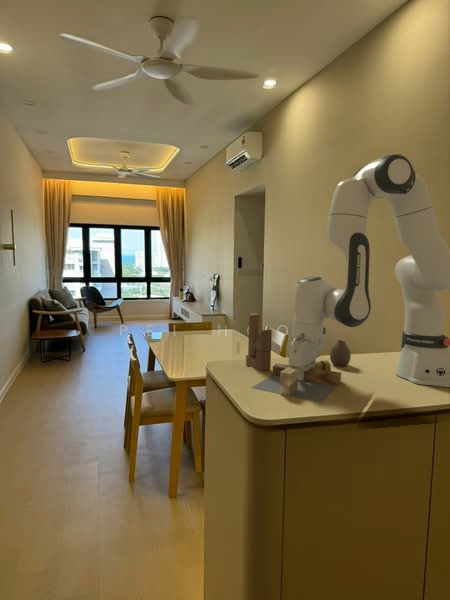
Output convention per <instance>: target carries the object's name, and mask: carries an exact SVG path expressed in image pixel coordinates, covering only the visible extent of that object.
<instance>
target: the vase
mask: <svg viewBox="0 0 450 600" xmlns="http://www.w3.org/2000/svg"><path fill="white" fill-rule="evenodd" d="M351 355H352V354H351V350H350V348H349V346H348V345H347V344H346V342H345V340H343V339H342V340H340V339H339V340H338V339H337V341H336V343H334V344H333V346H332V347H331V349H330V353H329V359H330V361H331V363H332V365H333V366H335V367H336V368H337V367H338V368H344V367H346V366H348V365H349V363H350V361H351Z"/></svg>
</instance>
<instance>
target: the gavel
mask: <svg viewBox="0 0 450 600" xmlns="http://www.w3.org/2000/svg"><path fill="white" fill-rule="evenodd" d="M305 367H306V368H307V367H308V365H306V366H305ZM314 369H320V370H327V371H331V369H332V368H331V363H330V362H329V361H328V360H326V359H325V360H320V361H316V362H315V366H314Z"/></svg>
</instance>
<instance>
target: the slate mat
mask: <svg viewBox="0 0 450 600" xmlns="http://www.w3.org/2000/svg"><path fill="white" fill-rule="evenodd" d="M336 388H337V387H336V386H333V385H327V384H322V383H317V382H310V381H304V380H302V381H301V380H298V389H297V390H296V391H295V392H294V393H292V394H291V395H290V396H289V397H291V398H292V397H293V398H296V399H302V400H307V401H311V402H315V403H320V404H321V403H322V402H324V401H325V399H327V398H328V396H329V395H331V393H333V392H334V390H336ZM251 389H255V390H259V391H263V392H267V393H268V392H269V393H273V394H278V395H283V394H280V377H279V376H273V375H272V374H271V375H270V376H268V377H267V378H264V379H263V380H262V381H260V382H258V383H257V384H255V385H253V386H252V387H251ZM283 396H284V395H283Z"/></svg>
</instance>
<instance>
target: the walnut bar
mask: <svg viewBox="0 0 450 600" xmlns="http://www.w3.org/2000/svg"><path fill="white" fill-rule="evenodd" d="M288 367H290V366H289V364H284V363H276V364H274V365H273V366H272V372H271V373H272V374H271V375H273V376H278V377H280V372H281V371H283V370H285V369H286V368H288ZM304 374H305V379H304V380H303V381H305V382H310V383H316V384H322V385H328V386H335V387H336V386H337V387H339V386H340V384H341V382H342V372H341V371H340V372H339V371H333V370H332V371H327V370H320V369H313V368H306V367H304Z"/></svg>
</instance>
